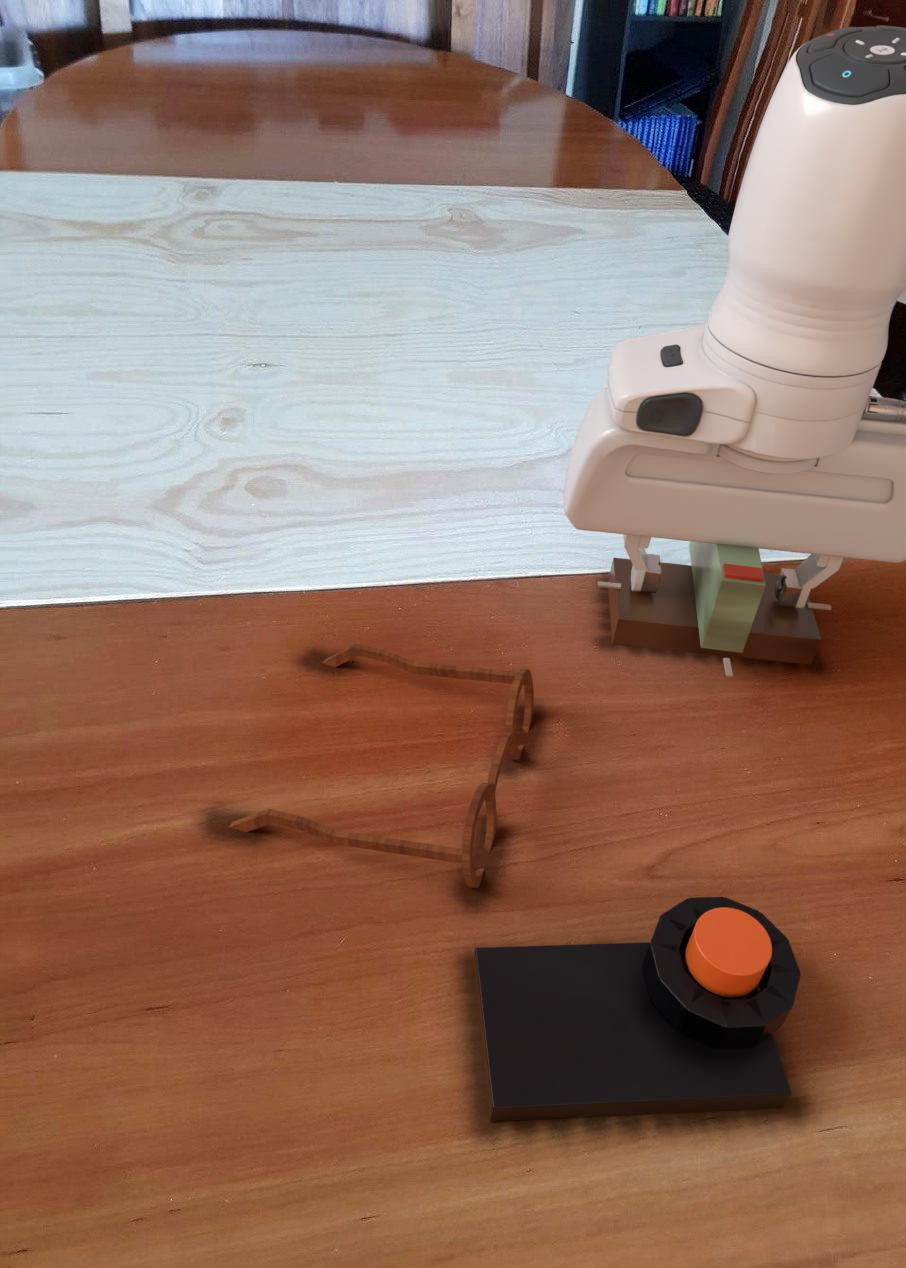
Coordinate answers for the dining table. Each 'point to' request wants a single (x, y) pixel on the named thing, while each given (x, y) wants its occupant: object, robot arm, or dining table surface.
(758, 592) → the green battery pack
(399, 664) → the glasses
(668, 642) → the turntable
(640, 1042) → the control block
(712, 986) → the button
